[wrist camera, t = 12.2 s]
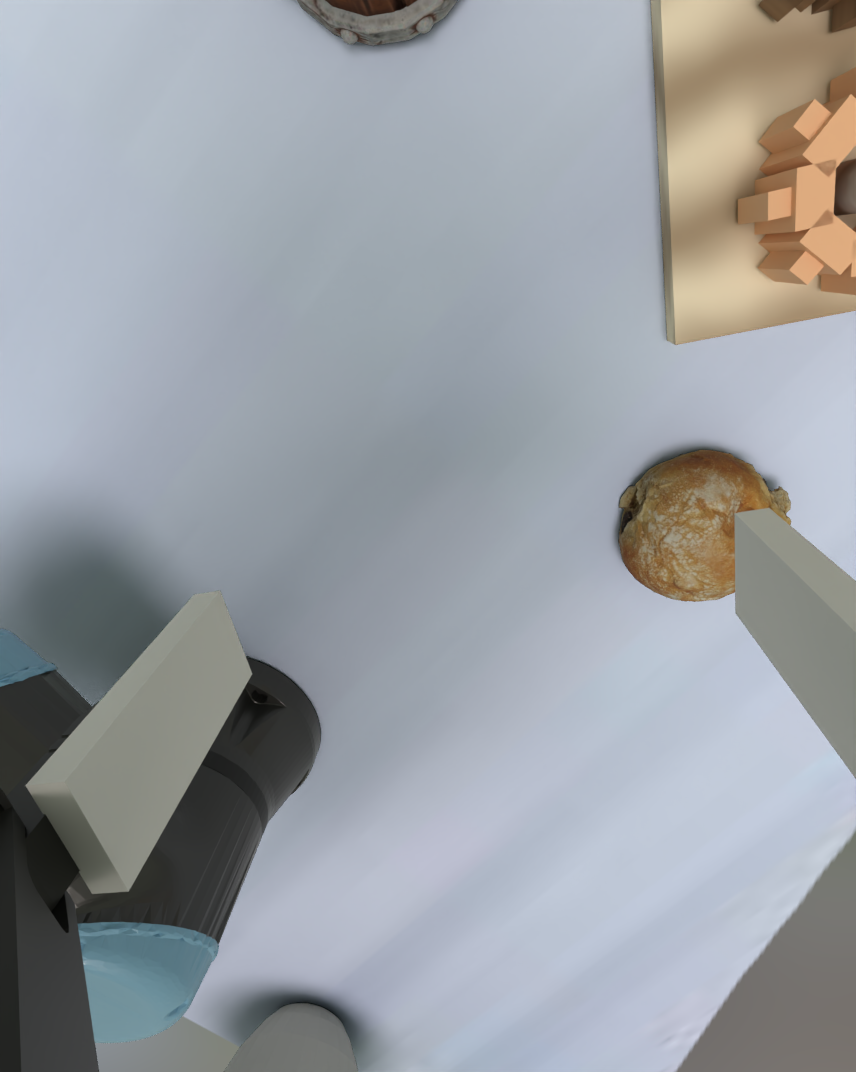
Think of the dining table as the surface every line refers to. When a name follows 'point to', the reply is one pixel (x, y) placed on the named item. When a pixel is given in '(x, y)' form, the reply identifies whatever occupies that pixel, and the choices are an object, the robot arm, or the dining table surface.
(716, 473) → the bread roll
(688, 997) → the dining table surface
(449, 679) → the dining table surface
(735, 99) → the peg board
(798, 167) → the gear
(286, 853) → the dining table surface
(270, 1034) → the vase
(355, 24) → the mug
